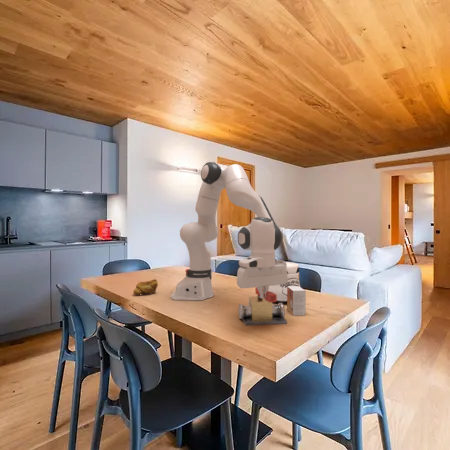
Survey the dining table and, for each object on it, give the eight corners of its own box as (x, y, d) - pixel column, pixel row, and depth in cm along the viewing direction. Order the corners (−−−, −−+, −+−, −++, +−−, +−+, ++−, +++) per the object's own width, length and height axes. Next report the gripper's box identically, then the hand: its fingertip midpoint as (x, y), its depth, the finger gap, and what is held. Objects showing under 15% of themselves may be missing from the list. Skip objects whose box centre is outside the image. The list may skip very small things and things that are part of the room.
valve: (242, 325, 105) (241, 299, 105) (237, 314, 117) (237, 291, 117) (287, 323, 107) (287, 297, 106) (278, 313, 118) (278, 290, 118)
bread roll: (135, 297, 146) (135, 282, 146) (130, 293, 154) (130, 279, 154) (159, 294, 153) (159, 279, 153) (153, 290, 161) (153, 276, 161)
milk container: (294, 307, 127) (294, 268, 126) (259, 302, 136) (259, 265, 135) (305, 298, 141) (305, 263, 141) (273, 294, 150) (272, 260, 150)
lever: (254, 293, 113) (254, 286, 113) (262, 292, 114) (262, 286, 114) (268, 302, 100) (268, 295, 100) (277, 301, 101) (277, 294, 101)
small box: (286, 309, 123) (286, 286, 123) (299, 309, 124) (299, 285, 124) (292, 315, 115) (292, 290, 115) (305, 315, 116) (305, 290, 116)
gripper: (281, 258, 111) (281, 293, 111) (234, 261, 102) (235, 298, 103) (291, 260, 105) (291, 296, 105) (242, 263, 97) (242, 303, 97)
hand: (263, 297), depth 104 cm, fingers closed
